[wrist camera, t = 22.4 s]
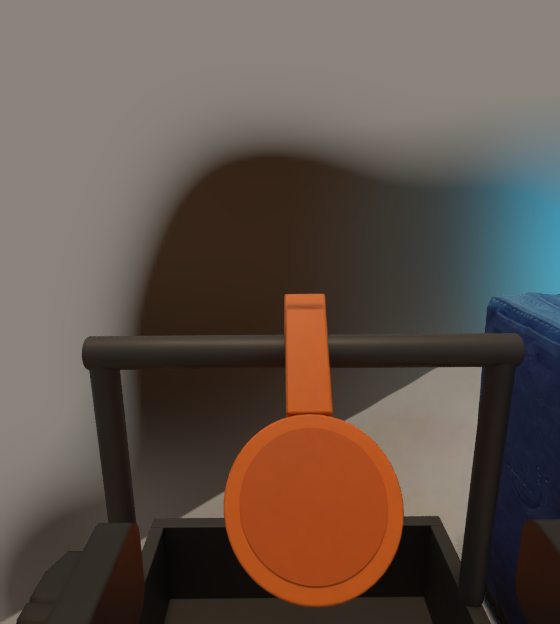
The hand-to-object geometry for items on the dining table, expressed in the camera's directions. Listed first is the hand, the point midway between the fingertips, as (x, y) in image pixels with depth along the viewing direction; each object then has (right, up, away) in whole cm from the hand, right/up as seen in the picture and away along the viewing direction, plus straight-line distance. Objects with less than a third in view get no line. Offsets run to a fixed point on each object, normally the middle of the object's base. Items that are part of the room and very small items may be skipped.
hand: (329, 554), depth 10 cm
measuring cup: (0, -3, +14) cm, 14 cm away
